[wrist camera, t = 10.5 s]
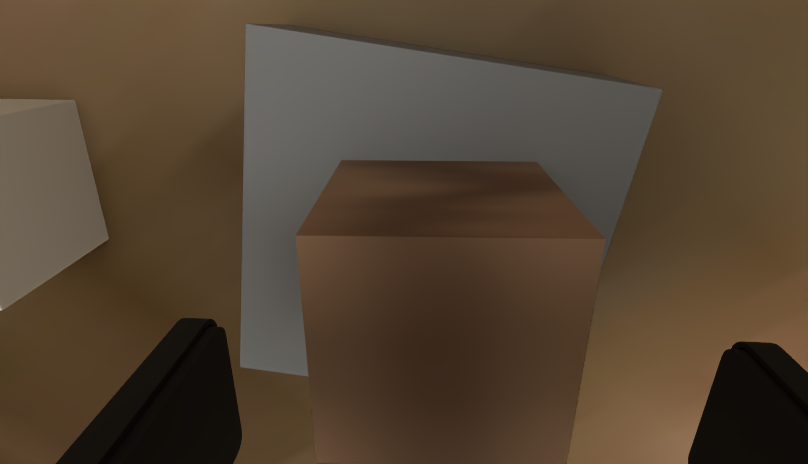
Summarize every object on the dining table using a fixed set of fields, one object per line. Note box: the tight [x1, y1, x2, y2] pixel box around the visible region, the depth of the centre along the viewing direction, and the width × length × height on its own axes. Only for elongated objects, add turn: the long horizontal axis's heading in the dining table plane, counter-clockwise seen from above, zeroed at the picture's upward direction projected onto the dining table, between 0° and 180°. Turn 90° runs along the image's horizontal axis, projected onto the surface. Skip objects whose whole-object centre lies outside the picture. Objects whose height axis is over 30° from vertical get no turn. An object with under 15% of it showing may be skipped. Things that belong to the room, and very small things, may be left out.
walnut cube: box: [295, 160, 606, 464], centre depth 13 cm, size 6×6×6 cm
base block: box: [240, 24, 663, 376], centre depth 18 cm, size 12×12×5 cm
